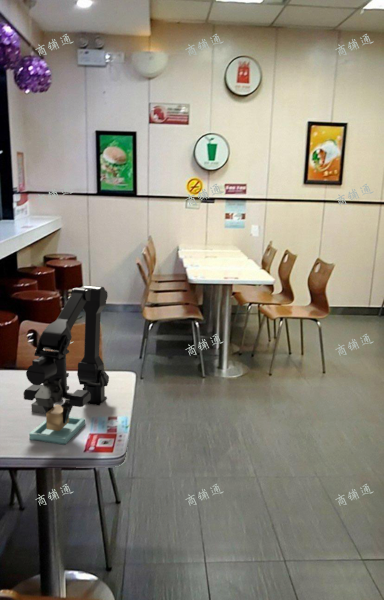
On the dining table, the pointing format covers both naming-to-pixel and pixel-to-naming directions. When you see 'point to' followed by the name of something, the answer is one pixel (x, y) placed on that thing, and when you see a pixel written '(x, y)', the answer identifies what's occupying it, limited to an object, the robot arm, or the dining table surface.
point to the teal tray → (58, 436)
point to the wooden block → (55, 418)
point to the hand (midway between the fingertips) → (58, 422)
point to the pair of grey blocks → (38, 408)
